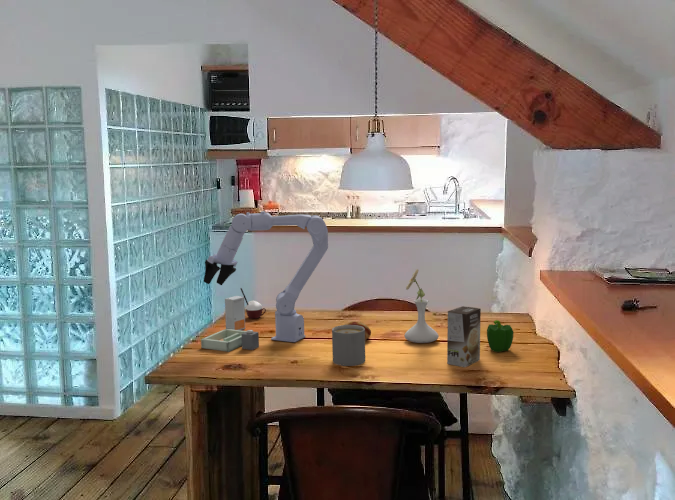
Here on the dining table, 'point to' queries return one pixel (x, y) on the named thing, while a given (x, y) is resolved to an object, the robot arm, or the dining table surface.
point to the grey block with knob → (250, 340)
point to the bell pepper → (499, 336)
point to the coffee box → (463, 336)
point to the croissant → (367, 330)
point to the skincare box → (235, 313)
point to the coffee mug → (348, 345)
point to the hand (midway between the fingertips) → (212, 283)
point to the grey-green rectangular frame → (223, 340)
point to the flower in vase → (420, 319)
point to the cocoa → (253, 308)
